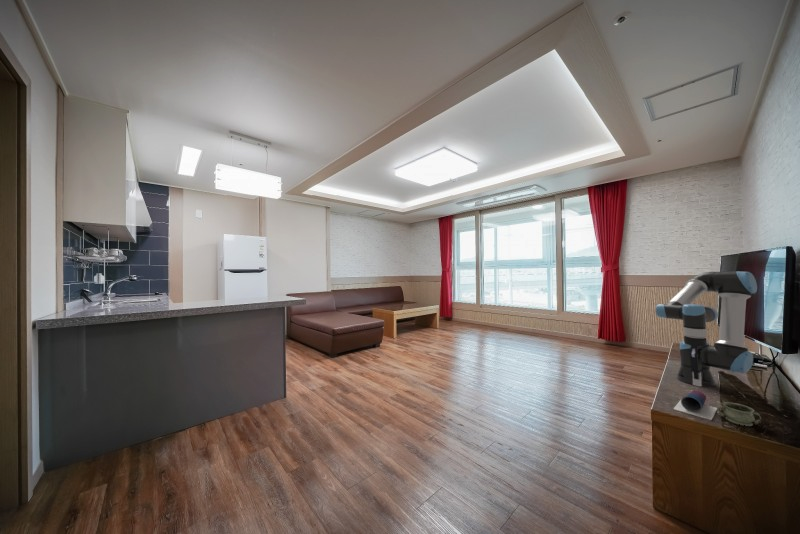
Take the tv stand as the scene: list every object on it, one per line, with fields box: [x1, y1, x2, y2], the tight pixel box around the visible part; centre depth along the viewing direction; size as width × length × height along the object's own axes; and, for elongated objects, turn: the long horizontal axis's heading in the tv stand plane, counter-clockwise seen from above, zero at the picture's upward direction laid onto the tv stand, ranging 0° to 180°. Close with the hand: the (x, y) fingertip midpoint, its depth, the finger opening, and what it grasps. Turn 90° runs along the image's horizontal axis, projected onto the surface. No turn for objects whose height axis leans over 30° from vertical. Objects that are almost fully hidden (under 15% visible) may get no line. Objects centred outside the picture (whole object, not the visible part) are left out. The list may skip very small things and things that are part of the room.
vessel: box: [717, 401, 762, 427], centre depth 119 cm, size 12×9×6 cm
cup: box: [680, 390, 707, 412], centre depth 131 cm, size 7×7×15 cm
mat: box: [673, 399, 718, 421], centre depth 130 cm, size 16×12×1 cm
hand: (697, 385), depth 134 cm, fingers closed
